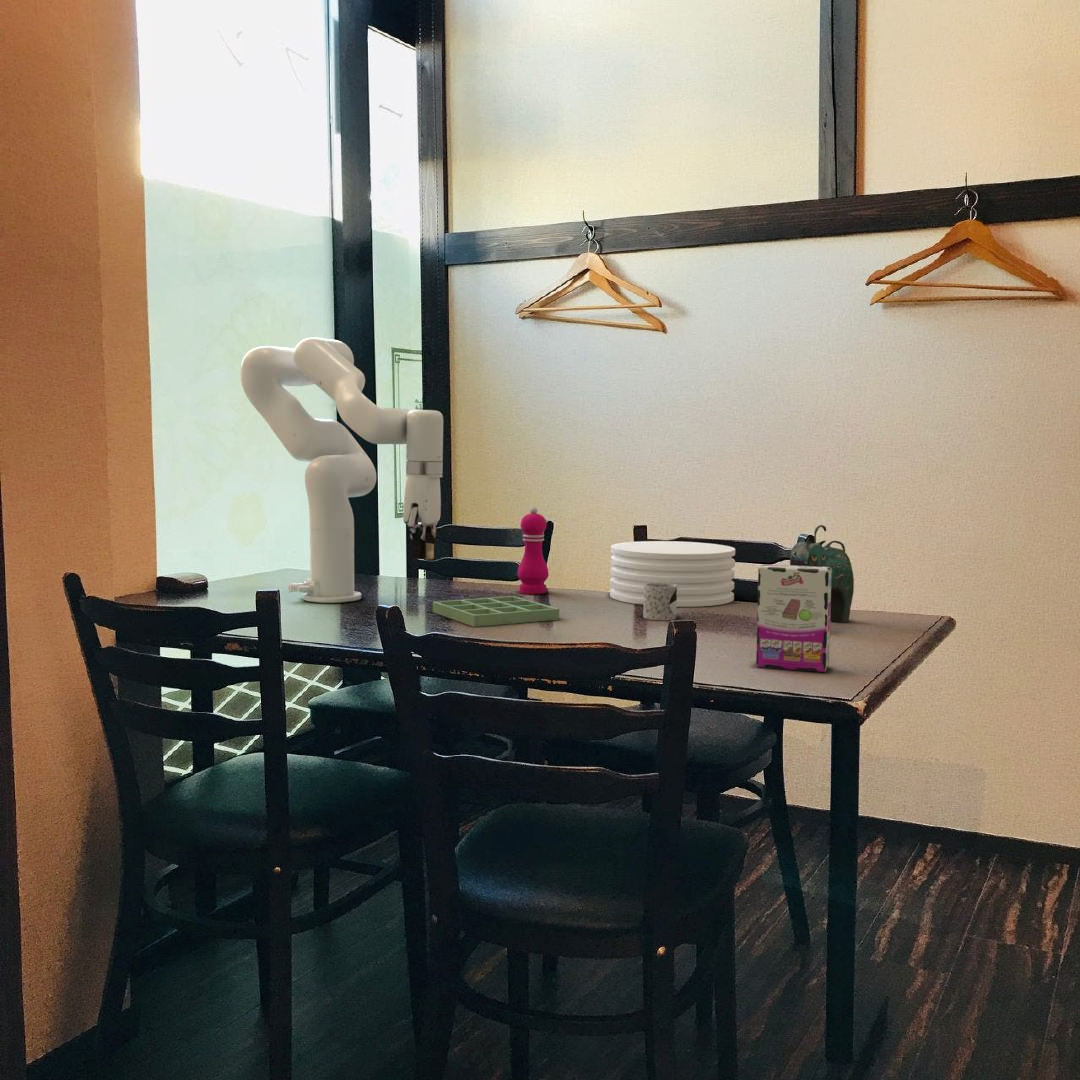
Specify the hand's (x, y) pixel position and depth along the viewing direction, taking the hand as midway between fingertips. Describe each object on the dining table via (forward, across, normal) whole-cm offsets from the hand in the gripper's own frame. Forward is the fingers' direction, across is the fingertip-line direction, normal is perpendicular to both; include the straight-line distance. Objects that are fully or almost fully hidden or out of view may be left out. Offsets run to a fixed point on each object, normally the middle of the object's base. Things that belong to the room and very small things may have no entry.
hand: (423, 556), depth 233 cm
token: (0, 0, 0) cm, 0 cm away
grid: (+11, +4, +17) cm, 21 cm away
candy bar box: (+10, +35, +78) cm, 86 cm away
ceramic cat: (+10, -6, +81) cm, 82 cm away
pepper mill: (+11, -30, +16) cm, 36 cm away
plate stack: (+11, -34, +47) cm, 59 cm away
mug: (+11, -7, +49) cm, 51 cm away
